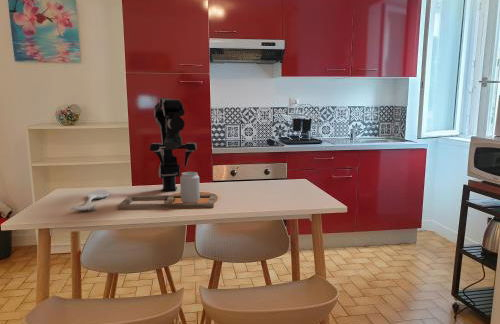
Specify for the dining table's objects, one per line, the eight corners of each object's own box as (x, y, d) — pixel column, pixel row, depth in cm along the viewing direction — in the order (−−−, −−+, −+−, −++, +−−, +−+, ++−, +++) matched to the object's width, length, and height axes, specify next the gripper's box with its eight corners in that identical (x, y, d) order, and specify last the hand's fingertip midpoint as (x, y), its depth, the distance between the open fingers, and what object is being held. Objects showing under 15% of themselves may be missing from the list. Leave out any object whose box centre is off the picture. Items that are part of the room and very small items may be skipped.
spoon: (69, 215, 140) (68, 206, 139) (90, 195, 171) (89, 187, 170) (96, 214, 141) (95, 205, 141) (111, 194, 172) (111, 187, 172)
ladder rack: (129, 199, 162) (128, 195, 162) (215, 197, 164) (215, 194, 163) (117, 209, 147) (117, 205, 146) (213, 207, 148) (213, 204, 148)
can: (201, 200, 159) (201, 171, 157) (197, 204, 151) (196, 174, 149) (184, 199, 160) (183, 170, 158) (178, 204, 152) (177, 174, 150)
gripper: (145, 131, 152) (147, 170, 155) (193, 131, 153) (194, 170, 155) (151, 129, 163) (153, 166, 166) (196, 129, 164) (197, 165, 166)
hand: (174, 167), depth 163 cm, fingers open, 9 cm apart
